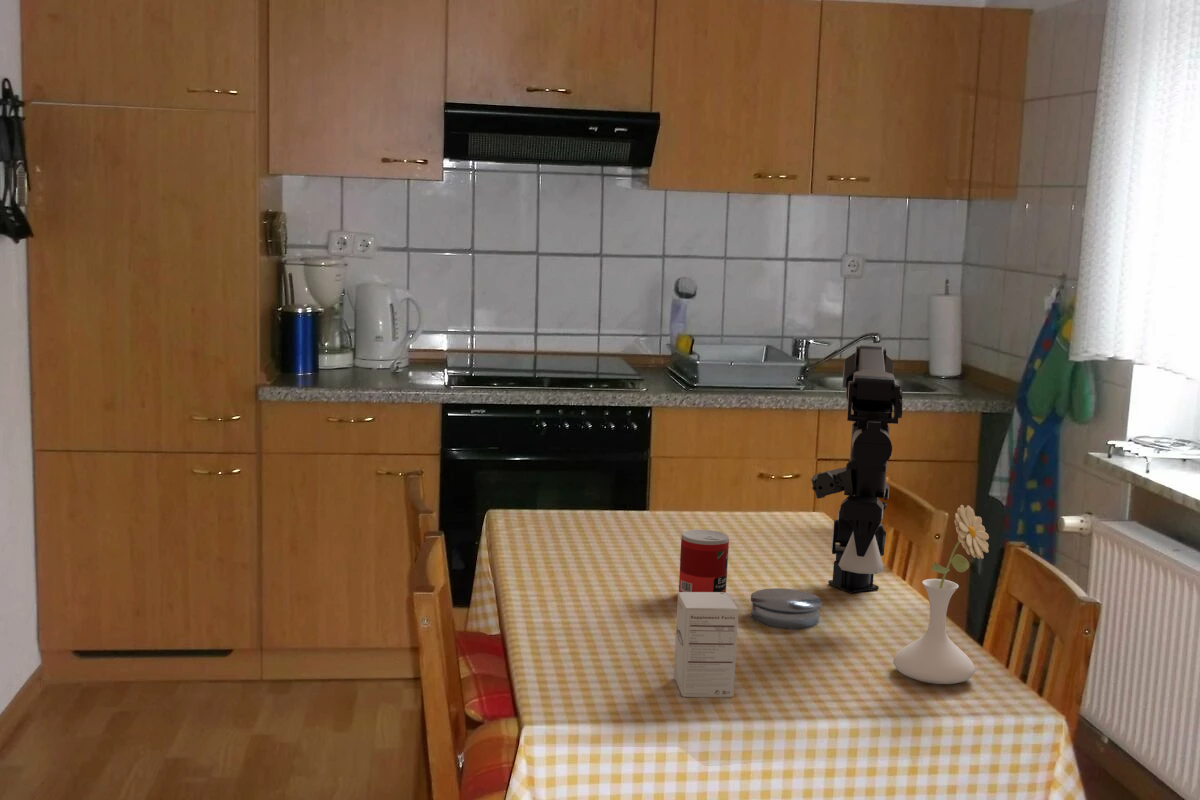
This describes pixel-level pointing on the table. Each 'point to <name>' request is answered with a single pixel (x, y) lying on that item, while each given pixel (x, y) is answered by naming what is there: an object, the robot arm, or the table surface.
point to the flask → (862, 559)
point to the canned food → (703, 561)
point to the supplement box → (706, 644)
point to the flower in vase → (944, 614)
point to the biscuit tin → (785, 608)
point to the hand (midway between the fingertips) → (862, 551)
